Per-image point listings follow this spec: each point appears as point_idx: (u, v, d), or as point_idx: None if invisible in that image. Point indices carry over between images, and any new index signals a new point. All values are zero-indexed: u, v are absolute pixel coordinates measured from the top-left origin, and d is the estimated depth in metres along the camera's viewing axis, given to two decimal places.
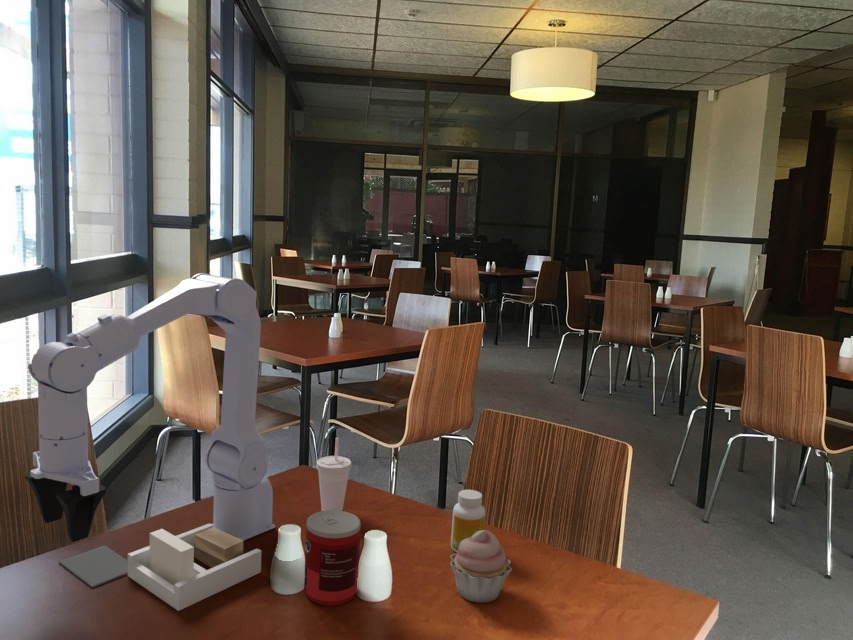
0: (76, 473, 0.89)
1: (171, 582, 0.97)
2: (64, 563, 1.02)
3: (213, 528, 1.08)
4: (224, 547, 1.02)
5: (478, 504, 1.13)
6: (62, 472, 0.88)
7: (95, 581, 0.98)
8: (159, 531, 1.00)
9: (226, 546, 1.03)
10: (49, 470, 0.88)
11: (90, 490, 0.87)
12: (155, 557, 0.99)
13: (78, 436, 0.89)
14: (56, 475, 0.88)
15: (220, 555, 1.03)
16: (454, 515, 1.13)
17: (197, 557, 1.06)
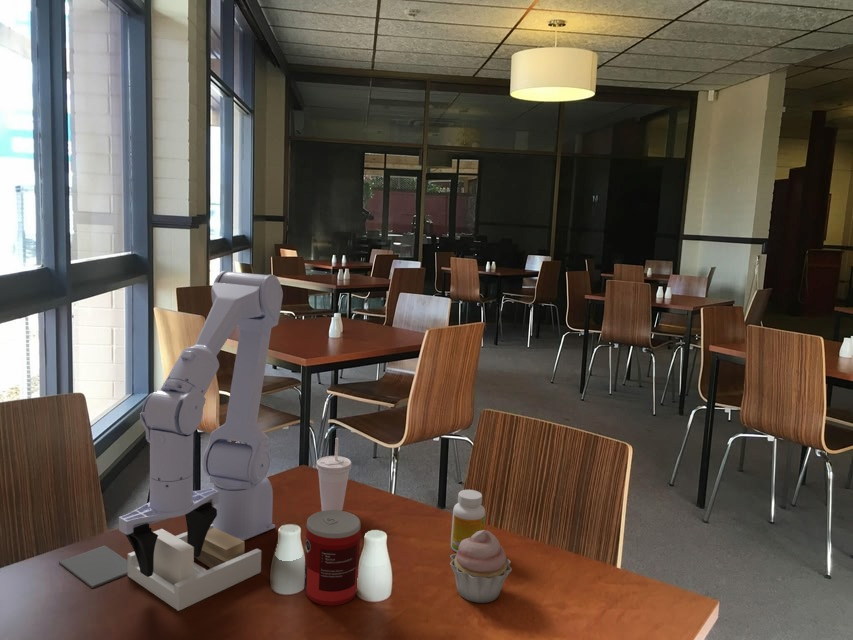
0: None
1: (171, 582, 0.97)
2: (64, 563, 1.02)
3: (214, 529, 1.08)
4: (225, 548, 1.02)
5: (478, 504, 1.13)
6: (149, 505, 0.96)
7: (95, 581, 0.98)
8: (159, 531, 1.00)
9: (227, 547, 1.02)
10: None
11: (122, 528, 0.91)
12: (155, 557, 0.99)
13: (156, 479, 0.94)
14: (145, 504, 0.96)
15: (221, 556, 1.02)
16: (454, 515, 1.13)
17: (197, 557, 1.06)
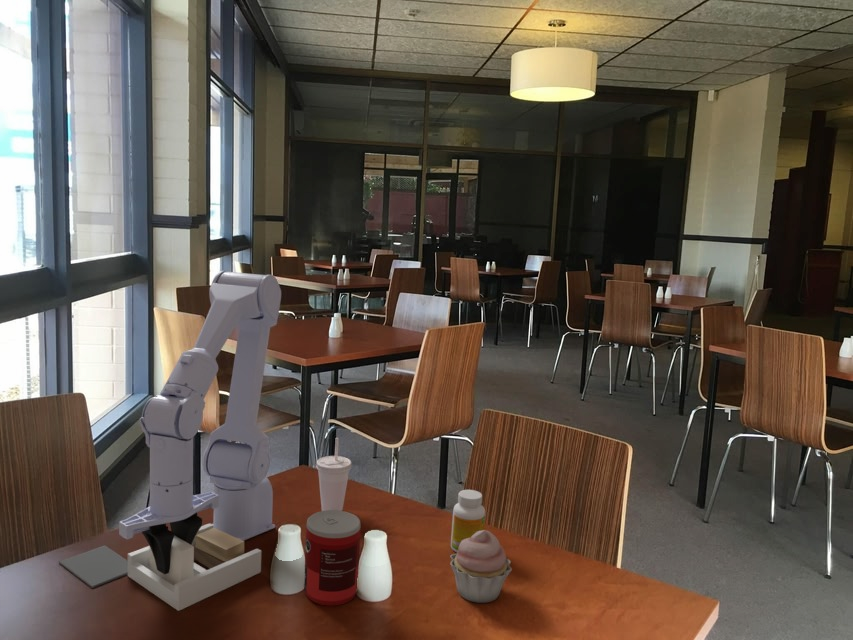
0: (147, 516, 0.94)
1: (171, 582, 0.97)
2: (64, 563, 1.02)
3: (214, 529, 1.08)
4: (224, 548, 1.02)
5: (478, 504, 1.13)
6: (149, 509, 0.96)
7: (95, 581, 0.98)
8: None
9: (227, 547, 1.02)
10: None
11: (122, 533, 0.92)
12: None
13: (156, 484, 0.94)
14: (145, 509, 0.96)
15: (221, 556, 1.02)
16: (454, 515, 1.13)
17: (196, 558, 1.06)
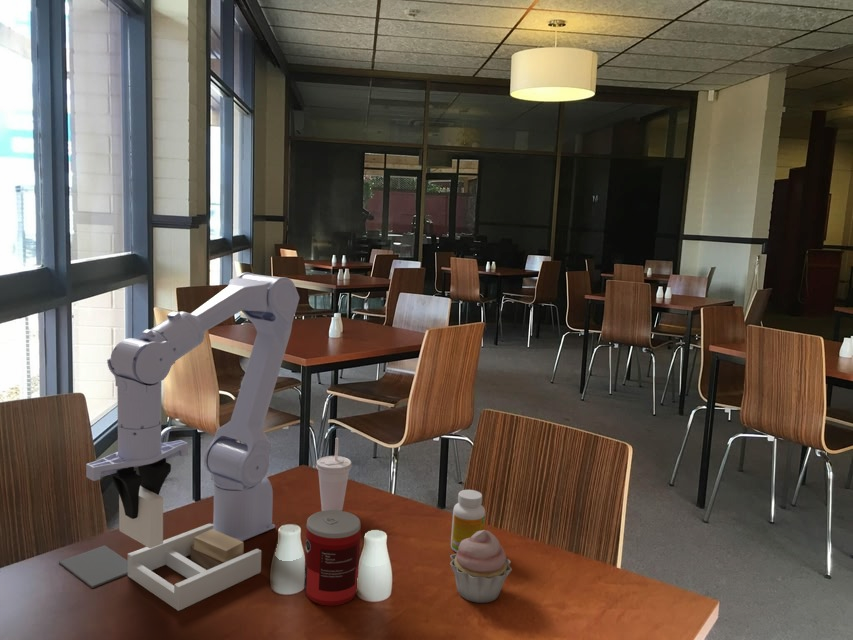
0: None
1: (141, 533, 0.97)
2: (64, 563, 1.02)
3: (212, 530, 1.07)
4: (224, 549, 1.02)
5: (478, 504, 1.13)
6: (117, 454, 0.96)
7: (95, 581, 0.98)
8: None
9: (226, 548, 1.02)
10: None
11: (89, 475, 0.92)
12: None
13: (123, 427, 0.94)
14: (113, 454, 0.97)
15: (221, 557, 1.02)
16: (454, 515, 1.13)
17: (193, 559, 1.06)
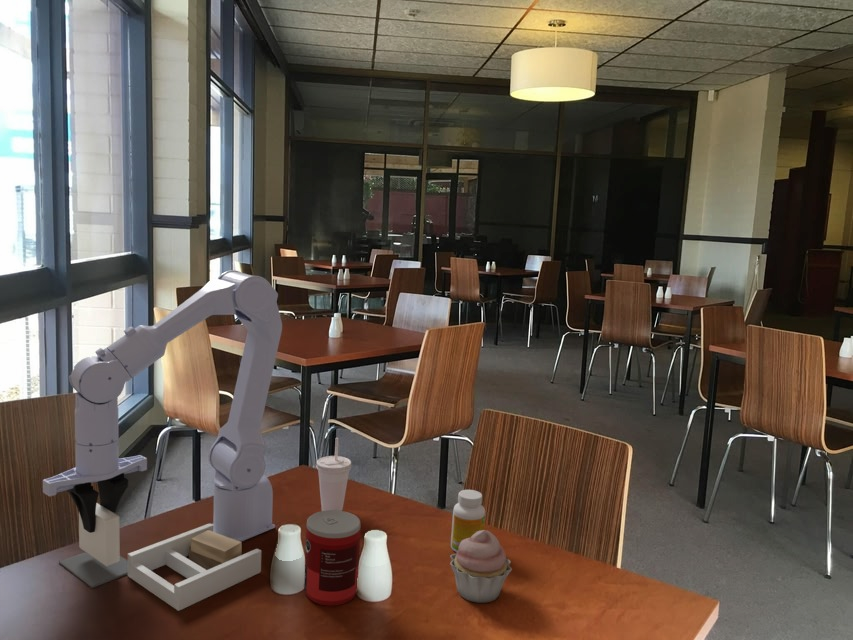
0: (71, 475, 0.97)
1: (98, 551, 1.00)
2: (64, 563, 1.02)
3: (208, 531, 1.07)
4: (223, 550, 1.01)
5: (478, 504, 1.13)
6: (75, 469, 0.99)
7: (95, 581, 0.98)
8: None
9: (225, 548, 1.02)
10: None
11: (45, 490, 0.95)
12: None
13: (80, 444, 0.97)
14: None
15: (219, 558, 1.02)
16: (454, 515, 1.13)
17: (192, 559, 1.06)
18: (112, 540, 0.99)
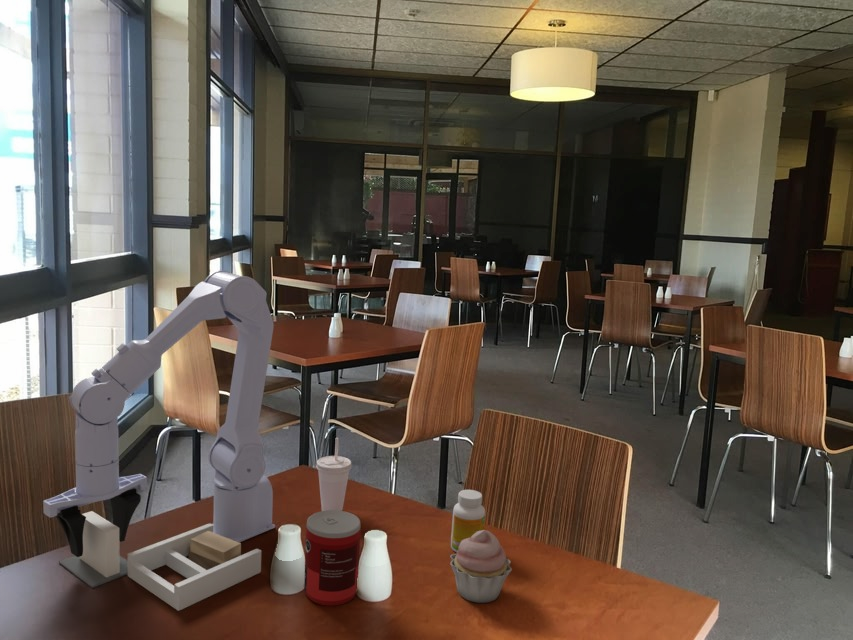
0: (72, 495, 0.98)
1: (98, 562, 1.00)
2: (64, 563, 1.02)
3: (208, 532, 1.07)
4: (222, 551, 1.01)
5: (478, 504, 1.13)
6: (75, 490, 0.99)
7: (95, 581, 0.98)
8: (88, 513, 1.03)
9: (224, 549, 1.02)
10: None
11: (46, 511, 0.95)
12: (84, 538, 1.02)
13: (80, 465, 0.97)
14: None
15: (218, 559, 1.01)
16: (454, 515, 1.13)
17: (192, 559, 1.05)
18: (112, 551, 0.99)
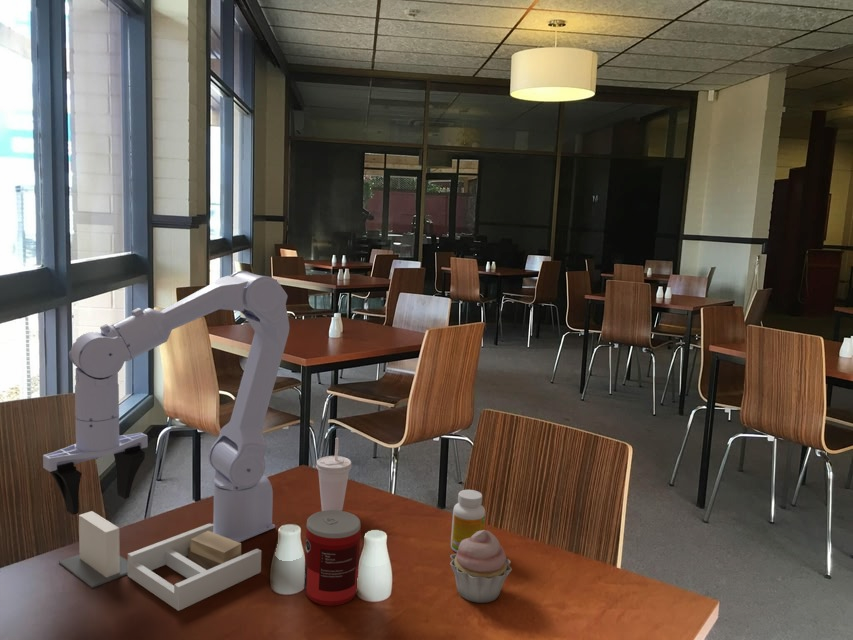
0: (72, 451, 0.97)
1: (98, 562, 1.00)
2: (64, 563, 1.02)
3: (208, 532, 1.07)
4: (222, 551, 1.01)
5: (478, 504, 1.13)
6: (75, 446, 0.98)
7: (95, 581, 0.98)
8: (88, 513, 1.03)
9: (224, 550, 1.02)
10: None
11: (45, 465, 0.94)
12: (84, 538, 1.02)
13: (80, 419, 0.96)
14: (71, 445, 0.99)
15: (219, 559, 1.02)
16: (454, 515, 1.13)
17: (191, 560, 1.05)
18: (112, 551, 0.99)
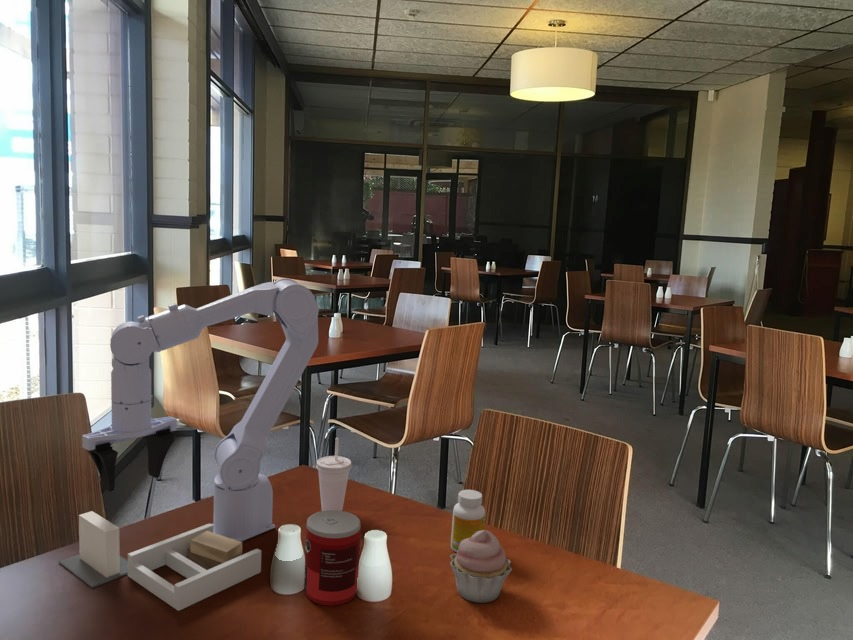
0: (108, 432, 1.04)
1: (98, 562, 1.00)
2: (64, 563, 1.02)
3: (207, 532, 1.07)
4: (225, 550, 1.01)
5: (478, 504, 1.13)
6: (111, 427, 1.06)
7: (95, 581, 0.98)
8: (88, 513, 1.03)
9: (226, 549, 1.02)
10: None
11: (85, 445, 1.01)
12: (84, 538, 1.02)
13: (116, 402, 1.04)
14: (107, 427, 1.06)
15: (221, 558, 1.02)
16: (454, 515, 1.13)
17: (191, 560, 1.05)
18: (112, 551, 0.99)
